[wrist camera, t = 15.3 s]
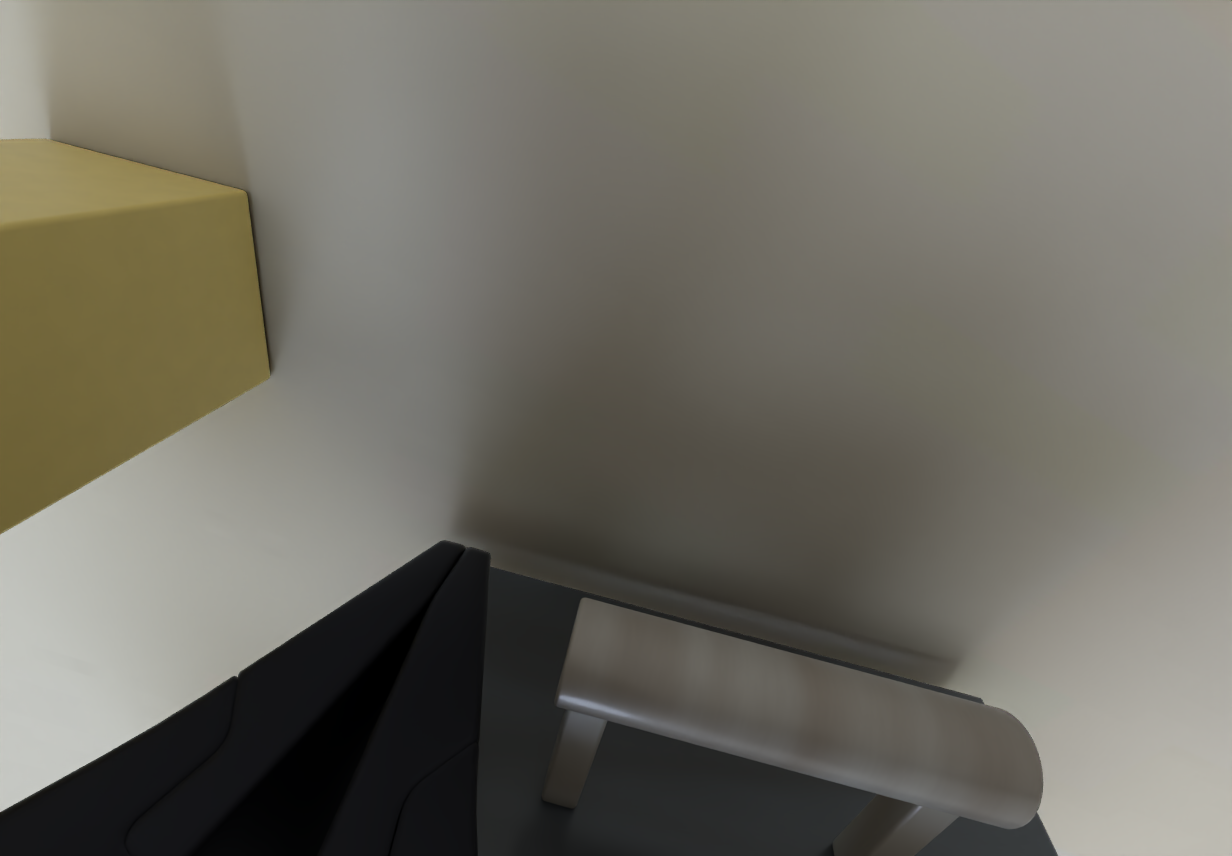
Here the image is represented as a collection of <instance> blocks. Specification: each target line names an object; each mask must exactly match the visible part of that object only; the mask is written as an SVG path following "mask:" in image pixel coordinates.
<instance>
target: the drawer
mask: <svg viewBox="0 0 1232 856" xmlns="http://www.w3.org/2000/svg"><path fill="white" fill-rule="evenodd" d="M1042 792H1043V773H1042V766H1041V761H1040V757H1039V754H1038V751H1037V748H1036V746H1035V743H1034V741H1033V739H1032V737H1031V736H1030V734H1029V732H1028V731H1027V730H1026V728H1025V727H1024V726H1023V724H1022V723H1021V722H1020V721H1019V720H1018V719H1016V718H1015V717H1014V716H1013V715H1011V714H1010V713H1008V712H1007V711H1005V710H1002V709H999V708H996V707H992V706H988V705H985V704H984V702H983V700H982V699H981V698H978V697H975V696H971V695H967V694H963V693H960V692H956V691H952V690H948V689H945V688H941V687H937V686H934V685H930V684H926V683H922V682H919V681H915V680H911V679H907V678H904V677H900V676H896V675H893V674H889V673H885V672H881V671H878V670H874V669H870V668H866V667H863V666H859V665H855V664H852V663H848V662H844V661H840V660H837V659H833V658H829V657H825V656H822V655H818V654H814V653H811V652H807V651H803V650H799V649H796V648H792V647H788V646H784V645H781V644H777V643H773V642H770V641H766V640H762V639H758V638H755V637H751V636H747V635H743V634H740V633H736V632H732V631H728V630H725V629H721V628H717V627H714V626H710V625H706V624H702V623H699V622H695V621H691V620H687V619H684V618H680V617H676V616H673V615H669V614H665V613H661V612H658V611H654V610H650V609H646V608H643V607H639V606H635V605H632V604H628V603H624V602H620V601H617V600H613V599H609V598H605V597H602V596H598V595H594V594H591V593H587V592H583V591H579V590H576V589H572V588H568V587H564V586H561V585H557V584H553V583H549V582H546V581H542V580H538V579H535V578H531V577H527V576H523V575H520V574H516V573H512V572H508V571H505V570H501V569H497V568H494V567H490V576H489V592H488V608H487V624H486V640H485V657H484V673H483V689H482V705H481V721H480V737H479V758H478V776H477V813H476V815H477V842H478V856H1058V854H1057V852H1056V850H1055V848H1054V846H1053V844H1052V842H1051V840H1050V838H1049V836H1048V834H1047V832H1046V830H1045V827H1044V825H1043V823H1042V821H1041V819H1040V817H1039V815H1038V813H1037V810H1038V808H1039V805H1040V803H1041V798H1042Z"/></svg>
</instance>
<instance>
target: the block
mask: <svg viewBox="0 0 1232 856" xmlns="http://www.w3.org/2000/svg"><path fill="white" fill-rule="evenodd" d="M269 378H270V368H269V361H268V353H267V345H266V337H265V329H264V321H263V314H262V306H261V298H260V290H259V282H258V274H257V267H256V259H255V251H254V243H253V235H252V227H251V220H250V212H249V204H248V196H247V193H246V192H245V191H243V190H240V189H237V188H233V187H229V186H225V185H221V184H217V183H214V182H210V181H206V180H202V179H198V178H194V177H191V176H187V175H183V174H179V173H175V172H171V171H168V170H164V169H160V168H156V167H152V166H148V165H145V164H141V163H137V162H133V161H129V160H125V159H122V158H118V157H114V156H110V155H106V154H102V153H99V152H95V151H91V150H87V149H83V148H79V147H76V146H72V145H68V144H64V143H60V142H56V141H53V140H49V139H2V140H0V534H2V533H4V532H5V531H7V530H9V529H11V528H12V527H14V526H16V525H18V524H19V523H21V522H23V521H24V520H26V519H28V518H30V517H31V516H33V515H35V514H37V513H38V512H40V511H42V510H43V509H45V508H47V507H49V506H50V505H52V504H54V503H56V502H57V501H59V500H61V499H62V498H64V497H66V496H68V495H69V494H71V493H73V492H74V491H76V490H78V489H80V488H81V487H83V486H85V485H87V484H88V483H90V482H92V481H93V480H95V479H97V478H99V477H100V476H102V475H104V474H106V473H107V472H109V471H111V470H112V469H114V468H116V467H118V466H119V465H121V464H123V463H125V462H126V461H128V460H130V459H131V458H133V457H135V456H137V455H138V454H140V453H142V452H144V451H145V450H147V449H149V448H150V447H152V446H154V445H156V444H157V443H159V442H161V441H163V440H164V439H166V438H168V437H169V436H171V435H173V434H175V433H176V432H178V431H180V430H182V429H183V428H185V427H187V426H188V425H190V424H192V423H194V422H195V421H197V420H199V419H200V418H202V417H204V416H206V415H207V414H209V413H211V412H213V411H214V410H216V409H218V408H219V407H221V406H223V405H225V404H226V403H228V402H230V401H232V400H233V399H235V398H237V397H238V396H240V395H242V394H244V393H245V392H247V391H249V390H251V389H252V388H254V387H256V386H257V385H259V384H261V383H263V382H264V381H266V380H268V379H269Z"/></svg>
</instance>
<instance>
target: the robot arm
mask: <svg viewBox="0 0 1232 856" xmlns="http://www.w3.org/2000/svg"><path fill="white" fill-rule="evenodd" d="M490 559H491V555H490V553H489V552H487V551H483V550H480V549H476V548H472V547H469V548H467V549H466V547H465V546H464V545H461V544H457V543H454V542H450V541H446V540H444V541H440V542H438V543H437V544H435V545H434V546H432V547H431V548H429V549H428V550H426V551H425V552H423V553H422V554H420V555H419V556H417V557H415V558H414V559H412V560H411V561H409V562H408V563H406V564H405V565H403V566H402V567H400V568H399V569H397V570H396V571H394V572H392V573H391V574H389V575H388V576H386V577H385V578H383V579H382V580H380V581H379V582H377V583H376V584H374V585H373V586H371V587H369V588H368V589H366V590H365V591H363V592H362V593H360V594H359V595H357V596H356V597H354V598H353V599H351V600H350V601H348V602H346V603H345V604H343V605H342V606H340V607H339V608H337V609H336V610H334V611H333V612H331V613H330V614H328V615H327V616H325V617H323V618H322V619H320V620H319V621H317V622H316V623H314V624H313V625H311V626H310V627H308V628H307V629H305V630H304V631H302V632H300V633H299V634H297V635H296V636H294V637H293V638H291V639H290V640H288V641H287V642H285V643H284V644H282V645H281V646H279V647H277V648H276V649H274V650H273V651H271V652H270V653H268V654H267V655H265V656H264V657H262V658H261V659H259V660H258V661H256V662H254V663H253V664H251V665H250V666H248V667H247V668H245V669H244V670H242V671H241V672H240V673H239V675H238V677H236V676H233V677H231V678H230V679H228V680H227V681H225V682H223V683H222V684H220V685H219V686H217V687H216V688H214V689H213V690H211V691H210V692H208V693H207V694H205V695H203V696H202V697H200V698H199V699H197V700H195V701H194V702H192V703H191V704H189V705H187V706H186V707H184V708H183V709H181V710H179V711H178V712H176V713H175V714H173V715H171V716H170V717H168V718H167V719H165V720H163V721H162V722H160V723H159V724H157V725H155V726H153V727H152V728H150V729H148V730H146V731H145V732H143V733H141V734H139V735H138V736H136V737H134V738H132V739H131V740H129V741H127V742H126V743H124V744H122V745H120V746H119V747H117V748H115V749H113V750H112V751H110V752H108V753H106V754H105V755H103V756H101V757H99V758H97V759H96V760H94V761H92V762H90V763H88V764H87V765H85V766H83V767H81V768H79V769H78V770H76V771H74V772H72V773H70V774H69V775H67V776H65V777H63V778H61V779H59V780H58V781H56V782H54V783H52V784H50V785H49V786H47V787H45V788H43V789H41V790H40V791H38V792H36V793H34V794H32V795H31V796H29V797H27V798H25V799H23V800H22V801H20V802H18V803H16V804H14V805H13V806H11V807H9V808H7V809H5V810H3V811H2V812H0V856H478V842H477V815H476V813H477V776H478V758H479V737H480V721H481V705H482V689H483V673H484V657H485V640H486V624H487V608H488V592H489V576H490Z"/></svg>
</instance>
